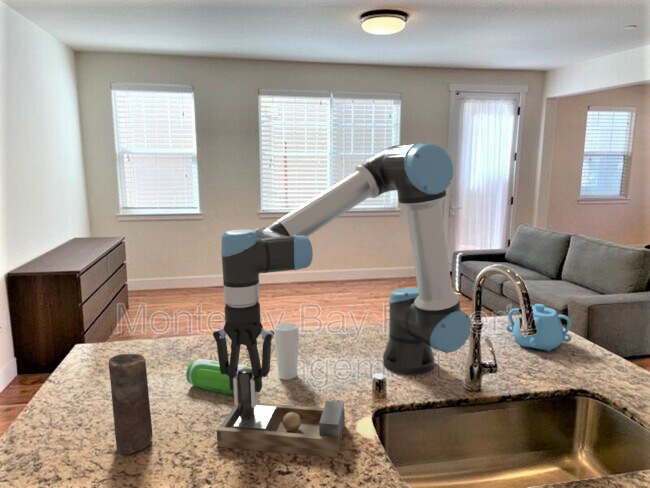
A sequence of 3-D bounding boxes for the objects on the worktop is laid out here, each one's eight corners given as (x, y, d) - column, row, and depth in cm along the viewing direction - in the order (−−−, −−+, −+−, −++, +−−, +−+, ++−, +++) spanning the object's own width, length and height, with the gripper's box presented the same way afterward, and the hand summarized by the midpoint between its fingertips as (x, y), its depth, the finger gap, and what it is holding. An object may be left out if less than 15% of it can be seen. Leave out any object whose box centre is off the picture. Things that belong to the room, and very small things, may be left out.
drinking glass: (296, 383, 126) (294, 331, 123) (272, 381, 127) (270, 329, 125) (302, 372, 132) (301, 322, 130) (279, 370, 134) (278, 321, 131)
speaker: (256, 388, 124) (255, 362, 122) (242, 401, 117) (241, 373, 116) (201, 378, 130) (200, 353, 128) (185, 390, 123) (183, 364, 122)
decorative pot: (576, 353, 143) (579, 311, 141) (527, 355, 142) (530, 313, 139) (546, 334, 159) (549, 296, 157) (501, 336, 158) (504, 298, 155)
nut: (302, 425, 103) (302, 409, 102) (298, 436, 99) (298, 419, 98) (285, 424, 103) (284, 407, 103) (280, 434, 99) (280, 417, 99)
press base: (344, 425, 105) (344, 399, 104) (337, 457, 94) (337, 428, 93) (237, 416, 110) (235, 391, 108) (217, 446, 98) (215, 418, 97)
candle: (123, 435, 102) (115, 351, 99) (157, 433, 103) (150, 349, 100) (111, 457, 95) (101, 366, 91) (147, 454, 95) (139, 365, 92)
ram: (276, 416, 106) (274, 364, 104) (265, 438, 97) (263, 383, 95) (247, 413, 107) (245, 362, 105) (233, 436, 99) (230, 380, 96)
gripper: (283, 298, 100) (286, 397, 104) (213, 296, 103) (218, 392, 107) (274, 309, 93) (277, 415, 97) (198, 306, 95) (205, 409, 99)
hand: (246, 403), depth 102 cm, fingers closed on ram, 3 cm apart
